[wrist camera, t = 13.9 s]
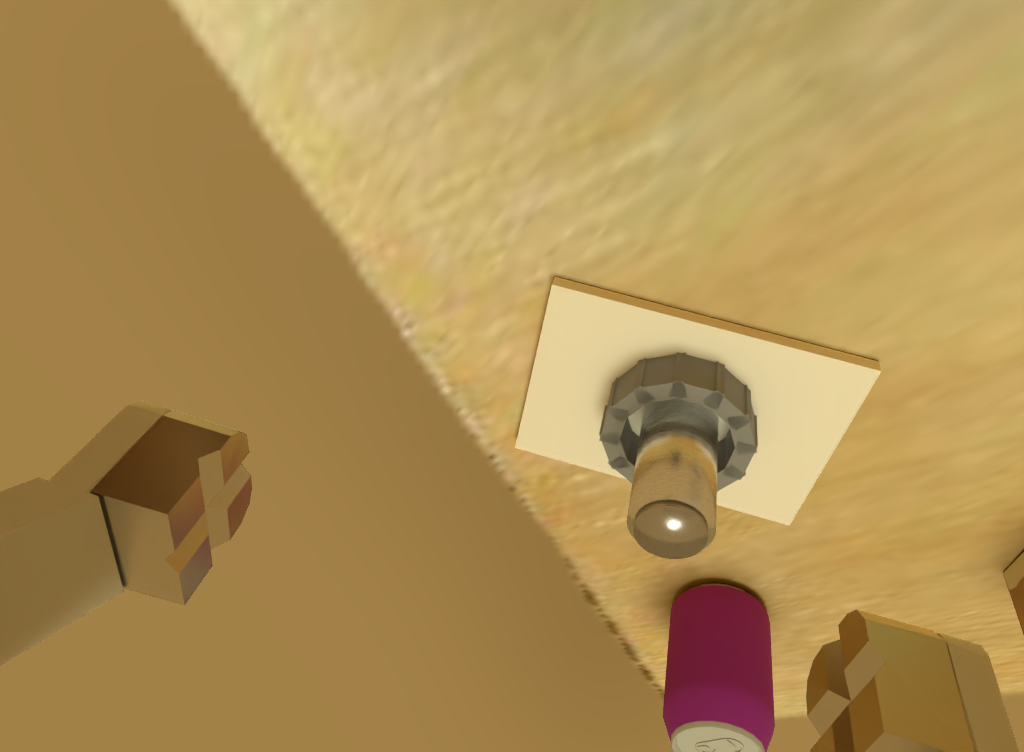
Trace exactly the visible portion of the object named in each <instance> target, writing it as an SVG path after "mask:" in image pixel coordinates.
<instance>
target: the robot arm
mask: <svg viewBox="0 0 1024 752" xmlns="http://www.w3.org/2000/svg"><path fill="white" fill-rule="evenodd" d="M248 453H249V447H248V439H247V434H245V433H242V432H240V431H237V430H234V429H231V428H228V427H224V426H222V425H219V424H215V423H212V422H209V421H206V420H203V419H200V418H196V417H193V416H190V415H187V414H184V413H181V412H178V411H174V410H170V409H167V408H164V407H161V406H158V405H154V404H151V403H148V402H145V401H141V400H138V401H136V402H134V403H131V404H128V405H127V406H125V407H124V408H123V409H122V410H121V411H120V412H119V413H118V414H117V415H116V416H115V417H114V418H113V419H112V420H111V421H110V422H109V423H108V424H107V425H106V426H105V427H104V428H103V429H102V430H101V431H99V433H97V434H96V435H95V436H94V437H93V438H92V439H91V440H90V441H89V442H88V443H87V444H86V445H85V446H84V447H83V448H82V449H81V450H80V451H79V452H78V453H77V454H76V455H75V456H74V457H73V458H72V459H71V460H70V461H69V462H68V463H67V464H65V466H63V467H62V468H61V469H60V470H59V471H58V472H57V473H56V474H55V475H54V476H53V477H52V478H51V479H50V480H49V481H48V480H45V479H41V478H36V479H33V480H31V481H28V482H25V483H22V484H20V485H17V486H14V487H12V488H9V489H6V490H4V491H1V492H0V666H1V665H3V664H5V663H6V662H8V661H10V660H11V659H13V658H15V657H16V656H18V655H20V654H21V653H23V652H24V651H26V650H28V649H30V648H31V647H33V646H35V645H36V644H38V643H39V642H41V641H43V640H45V639H46V638H48V637H50V636H51V635H53V634H55V633H56V632H58V631H60V630H61V629H63V628H65V627H66V626H68V625H70V624H71V623H73V622H75V621H76V620H78V619H80V618H81V617H83V616H85V615H86V614H88V613H90V612H91V611H93V610H95V609H97V608H98V607H100V606H102V605H103V604H105V603H107V602H108V601H110V600H112V599H113V598H115V597H116V596H118V595H120V594H122V593H123V592H124V589H123V588H125V589H129V590H132V591H135V592H139V593H143V594H146V595H150V596H153V597H156V598H160V599H164V600H167V601H171V602H174V603H178V604H181V605H185V604H186V603H187V602H188V600H189V599H190V597H191V596H192V594H193V593H194V592H195V590H196V589H197V587H198V586H199V584H200V583H201V581H202V580H203V578H204V577H205V576H206V574H207V573H208V572H209V570H210V569H211V567H212V566H213V565H212V557H211V549H213V548H215V547H217V546H219V545H221V544H223V543H225V542H227V541H229V540H231V538H232V537H233V535H234V534H235V532H236V531H237V529H238V527H239V526H240V524H241V523H242V520H243V518H244V516H245V513H246V511H247V508H248V506H249V503H250V497H251V490H252V482H251V475H250V473H249V472H248V471H247V469H246V468H245V467H244V466H243V464H242V461H243V460H244V459H245V457H246V456H247V455H248ZM838 626H839V634H840V640H837V641H834V642H831V643H828V644H825V645H823V646H822V648H821V649H820V651H819V652H818V654H817V655H816V657H815V658H814V660H813V663H812V666H811V670H810V673H809V676H808V680H807V693H806V701H807V716H808V717H809V719H810V720H811V722H812V723H813V725H814V726H815V728H816V729H817V731H818V732H819V734H820V735H821V737H820V739H819V740H818V741H817V742H816V744H815V745H814V746H813V747H812V749H811V750H810V752H1019V751H1018V748H1017V745H1016V741H1015V738H1014V735H1013V732H1012V729H1011V725H1010V722H1009V719H1008V716H1007V712H1006V709H1005V706H1004V703H1003V700H1002V696H1001V693H1000V690H999V687H998V684H997V680H996V677H995V674H994V671H993V668H992V664H991V661H990V658H989V655H988V653H987V652H986V651H985V650H984V648H983V647H982V646H981V645H978V644H975V643H971V642H968V641H964V640H961V639H957V638H954V637H950V636H947V635H943V634H940V633H935V632H933V631H931V630H928V629H924V628H920V627H917V626H913V625H910V624H906V623H903V622H899V621H895V620H892V619H888V618H885V617H881V616H877V615H874V614H870V613H867V612H863V611H859V610H854V611H852V612H850V613H848V614H847V615H846V616H845V617H844V619H843V620H842V621H841V623H840V624H839V625H838Z"/></svg>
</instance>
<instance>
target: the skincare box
mask: <svg viewBox="0 0 1024 752" xmlns="http://www.w3.org/2000/svg"><path fill="white" fill-rule="evenodd" d="M1003 574H1004V578H1005V581H1006V584H1007V587H1008V590H1009V592H1010V595H1011V598H1012V601H1013V604H1014V607H1015V610H1016V613H1017V616H1018V619H1019V622H1020V625H1021V628H1022V631H1023V634H1024V552H1023V553H1022V554H1021V555H1020V556H1019V557H1018V558H1017V559H1016V560H1015V561H1014V562H1013V563H1012V564H1011V565H1010V566H1009V567H1008V568H1007V569H1006V571H1005V572H1004V573H1003Z"/></svg>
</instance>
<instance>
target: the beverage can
mask: <svg viewBox="0 0 1024 752" xmlns="http://www.w3.org/2000/svg"><path fill="white" fill-rule="evenodd" d="M663 718H664V722H665V725H666V728H667V731H668V735H669V738H670V741H671V746H672V749H673V751H674V752H766V751H767V748H768V746H769V743H770V741H771V738H772V735H773V731H774V726H775V723H774V701H773V679H772V657H771V635H770V622H769V617H768V614H767V611H766V609H765V607H764V606H763V605H762V604H761V603H760V602H759V601H758V599H756V598H755V597H753V596H751V595H750V594H748V593H747V592H745V591H743V590H742V589H740V588H737V587H734V586H731V585H728V584H719V583H710V584H702V585H699V586H696V587H693V588H691V589H689V590H686V591H685V592H684V593H682V594H681V595H679V596H678V597H677V598H676V600H675V602H674V603H673V605H672V609H671V617H670V629H669V642H668V655H667V668H666V681H665V694H664V706H663Z"/></svg>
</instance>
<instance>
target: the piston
mask: <svg viewBox="0 0 1024 752" xmlns="http://www.w3.org/2000/svg"><path fill="white" fill-rule="evenodd" d="M718 423H719V416H718V415H717V414H716V413H715V412H713V411H712V410H711V409H710V408H709V407H707V406H703V405H700V404H696V403H692V402H689V401H685V400H681V399H672V400H665V401H658V402H651V403H647V404H646V405H645V406H644V410H643V416H642V423H641V430H640V436H639V443H638V450H637V456H636V463H635V470H634V476H633V483H632V490H631V496H630V503H629V510H628V516H627V526H628V529H629V531H630V533H631V535H632V536H633V537H634V539H635V540H636V541H637V542H638V544H639V545H640V546H641V547H642V548H644V549H645V550H646V551H648V552H650V553H652V554H654V555H656V556H659V557H663V558H669V559H682V558H687V557H691V556H693V555H695V554H697V553H699V552H700V551H701V550H702V549H704V548H705V547H707V546H708V545H709V544H710V543H711V542H712V540H713V538H714V536H715V532H716V505H717V464H718Z"/></svg>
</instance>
